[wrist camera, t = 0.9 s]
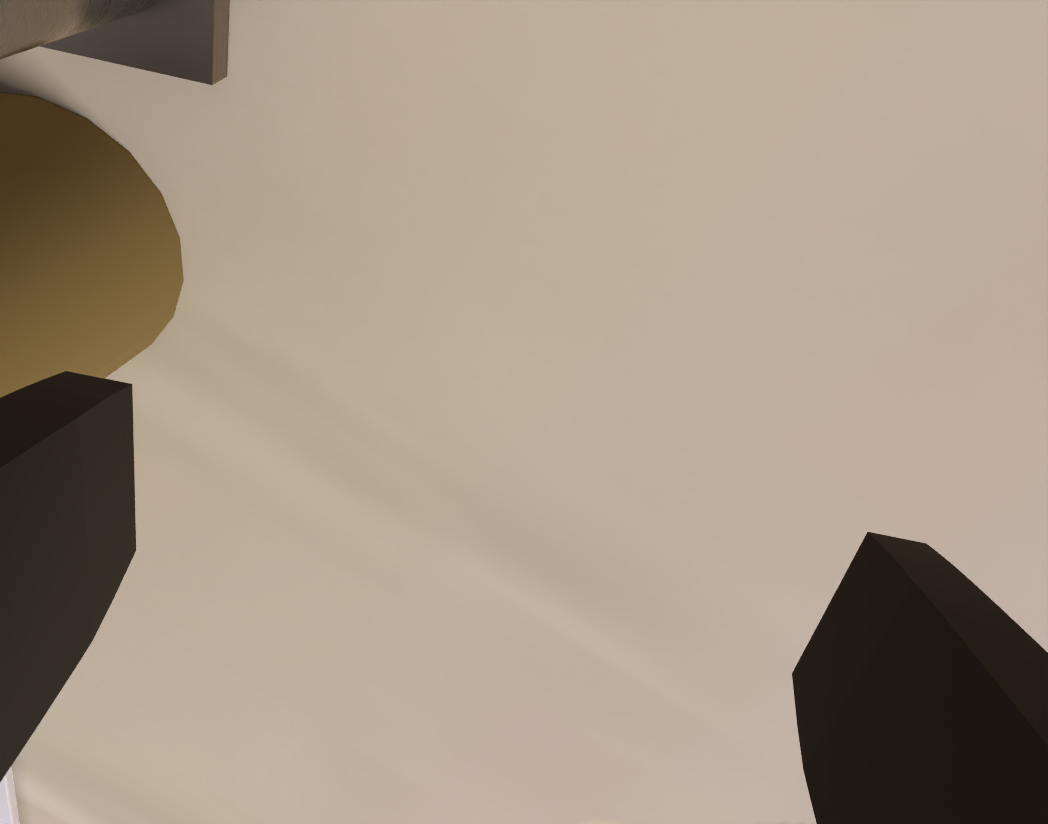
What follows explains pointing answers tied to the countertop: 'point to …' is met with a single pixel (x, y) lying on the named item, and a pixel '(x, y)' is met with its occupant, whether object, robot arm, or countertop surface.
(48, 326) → the cork
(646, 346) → the countertop surface
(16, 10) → the bent rail
